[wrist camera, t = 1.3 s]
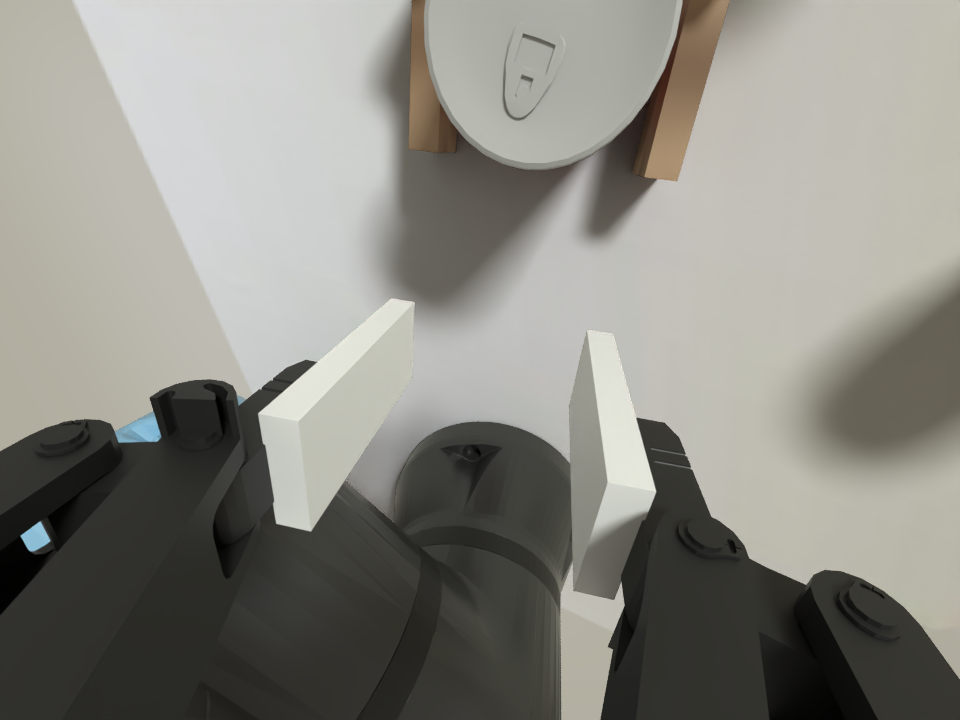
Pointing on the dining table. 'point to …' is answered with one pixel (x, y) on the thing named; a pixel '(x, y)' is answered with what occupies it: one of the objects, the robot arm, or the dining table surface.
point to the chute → (666, 109)
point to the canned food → (546, 72)
